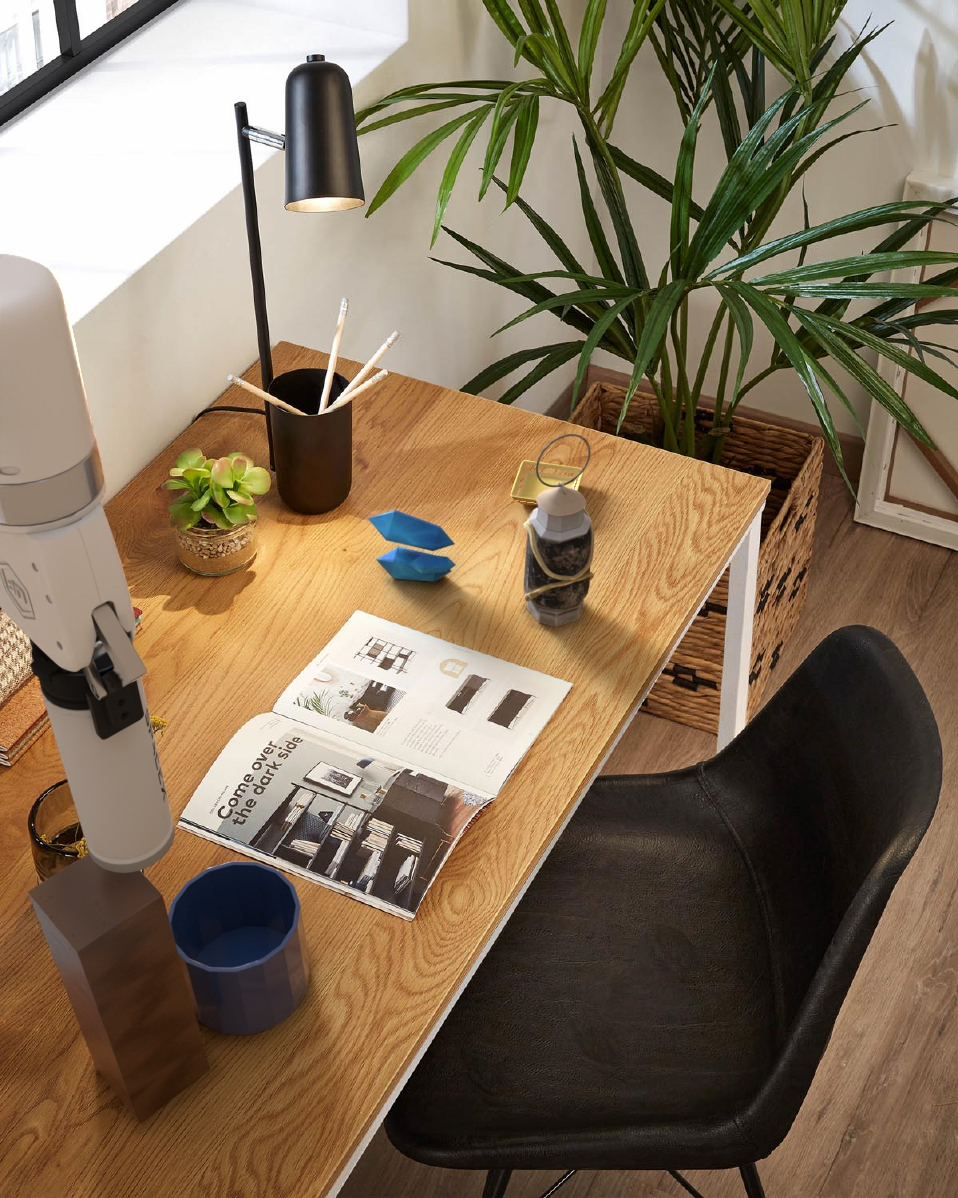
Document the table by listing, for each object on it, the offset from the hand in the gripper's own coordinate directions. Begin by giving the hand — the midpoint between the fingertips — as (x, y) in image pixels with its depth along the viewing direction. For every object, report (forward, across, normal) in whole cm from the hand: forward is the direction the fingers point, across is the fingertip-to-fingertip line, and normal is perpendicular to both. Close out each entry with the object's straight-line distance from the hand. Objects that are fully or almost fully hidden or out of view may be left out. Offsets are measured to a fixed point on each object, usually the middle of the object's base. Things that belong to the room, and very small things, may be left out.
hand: (92, 697), depth 84 cm
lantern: (+41, -17, +65) cm, 79 cm away
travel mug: (+15, 0, 0) cm, 15 cm away
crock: (+42, -1, +8) cm, 43 cm away
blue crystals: (+41, -34, +57) cm, 78 cm away
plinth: (+42, +1, -3) cm, 42 cm away
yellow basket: (+41, -34, +81) cm, 97 cm away
